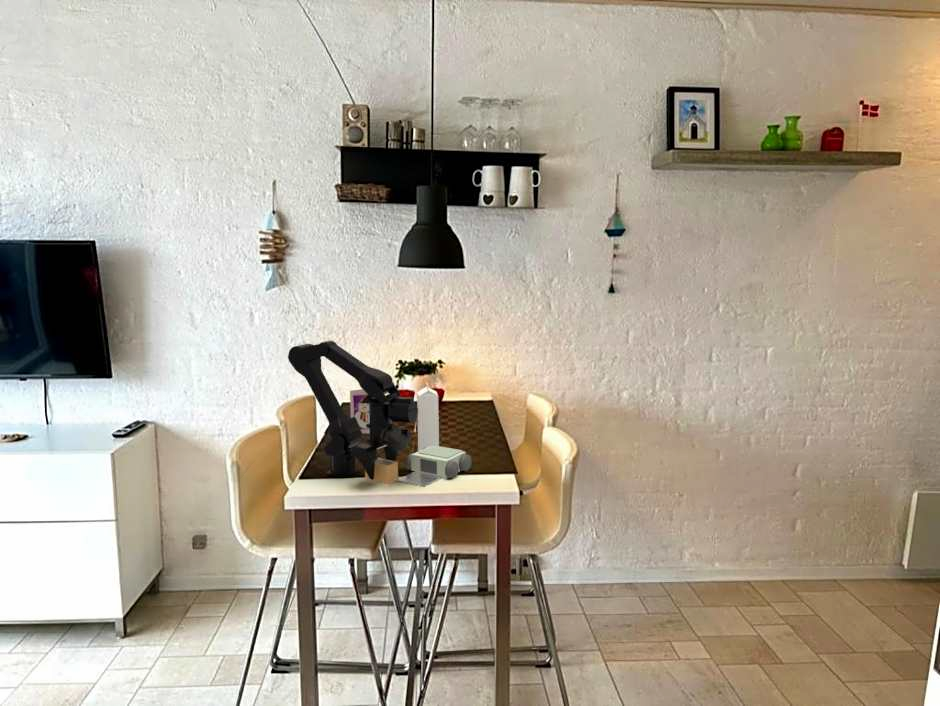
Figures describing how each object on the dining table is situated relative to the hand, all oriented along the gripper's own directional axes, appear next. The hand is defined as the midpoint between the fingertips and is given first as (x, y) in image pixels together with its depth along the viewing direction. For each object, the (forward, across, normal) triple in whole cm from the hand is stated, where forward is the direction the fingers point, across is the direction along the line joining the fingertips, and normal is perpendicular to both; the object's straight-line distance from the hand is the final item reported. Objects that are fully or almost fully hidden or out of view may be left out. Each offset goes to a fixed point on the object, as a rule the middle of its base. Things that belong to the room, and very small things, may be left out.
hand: (381, 475), depth 184 cm
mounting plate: (+1, +5, -10) cm, 11 cm away
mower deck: (+1, +14, -10) cm, 17 cm away
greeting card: (+1, +37, +35) cm, 51 cm away
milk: (+1, +26, +2) cm, 26 cm away
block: (+1, 0, 0) cm, 1 cm away
